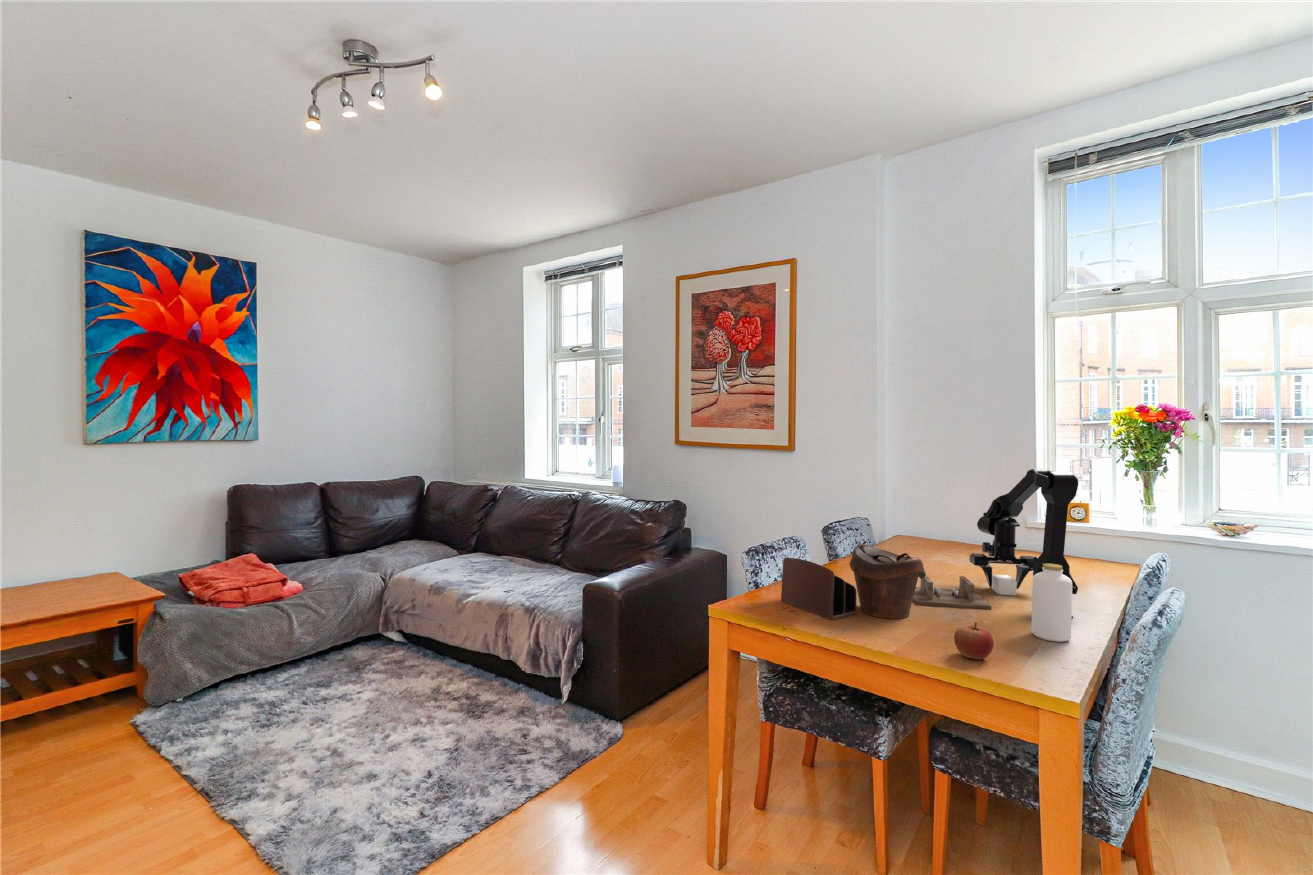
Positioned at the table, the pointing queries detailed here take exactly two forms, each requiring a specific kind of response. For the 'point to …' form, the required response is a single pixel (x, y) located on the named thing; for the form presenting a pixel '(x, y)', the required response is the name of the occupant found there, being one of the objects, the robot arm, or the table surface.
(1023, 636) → the table surface
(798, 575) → the letter holder
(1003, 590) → the white rectangular block
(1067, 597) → the potion bottle
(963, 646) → the apple
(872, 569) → the brown lidded bucket
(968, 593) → the rack
